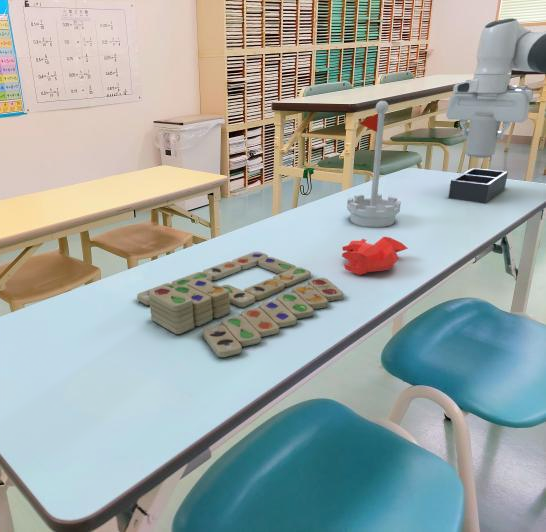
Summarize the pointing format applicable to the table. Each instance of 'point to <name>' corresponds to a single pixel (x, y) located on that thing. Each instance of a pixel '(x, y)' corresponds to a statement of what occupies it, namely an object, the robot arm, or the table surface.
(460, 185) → the dark grey divided tray
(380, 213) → the flag stand
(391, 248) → the animal figurine
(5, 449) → the table surface
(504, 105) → the robot arm
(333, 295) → the pile of dominoes
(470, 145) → the can
